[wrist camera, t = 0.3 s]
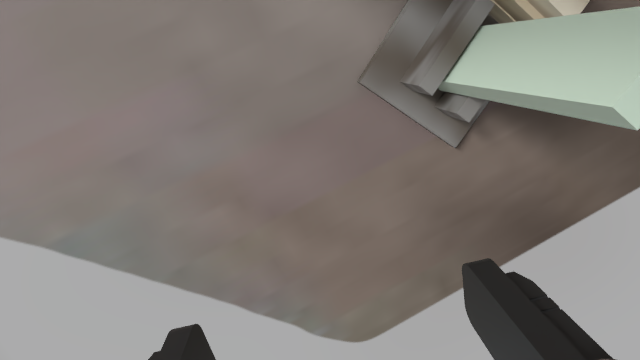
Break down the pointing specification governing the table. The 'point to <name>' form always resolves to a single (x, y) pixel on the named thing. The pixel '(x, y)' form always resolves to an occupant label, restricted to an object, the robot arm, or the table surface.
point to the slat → (557, 66)
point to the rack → (443, 57)
